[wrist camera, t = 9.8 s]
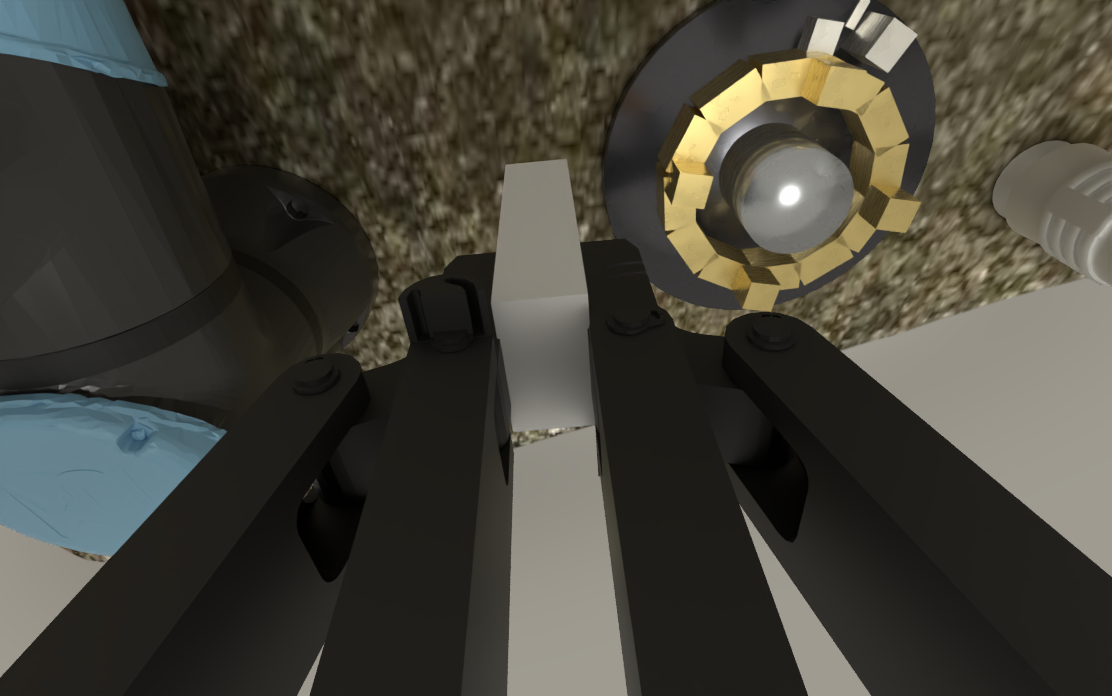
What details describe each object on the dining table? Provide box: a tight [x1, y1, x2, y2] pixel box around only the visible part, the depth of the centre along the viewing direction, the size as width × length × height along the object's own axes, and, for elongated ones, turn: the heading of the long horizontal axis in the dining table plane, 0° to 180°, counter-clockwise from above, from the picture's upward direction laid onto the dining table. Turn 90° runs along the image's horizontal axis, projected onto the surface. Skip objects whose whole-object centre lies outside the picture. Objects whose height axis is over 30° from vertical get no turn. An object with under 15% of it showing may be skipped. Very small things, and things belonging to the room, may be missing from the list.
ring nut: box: [656, 15, 921, 311], centre depth 38 cm, size 15×15×6 cm
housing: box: [602, 0, 935, 310], centre depth 38 cm, size 22×22×8 cm
